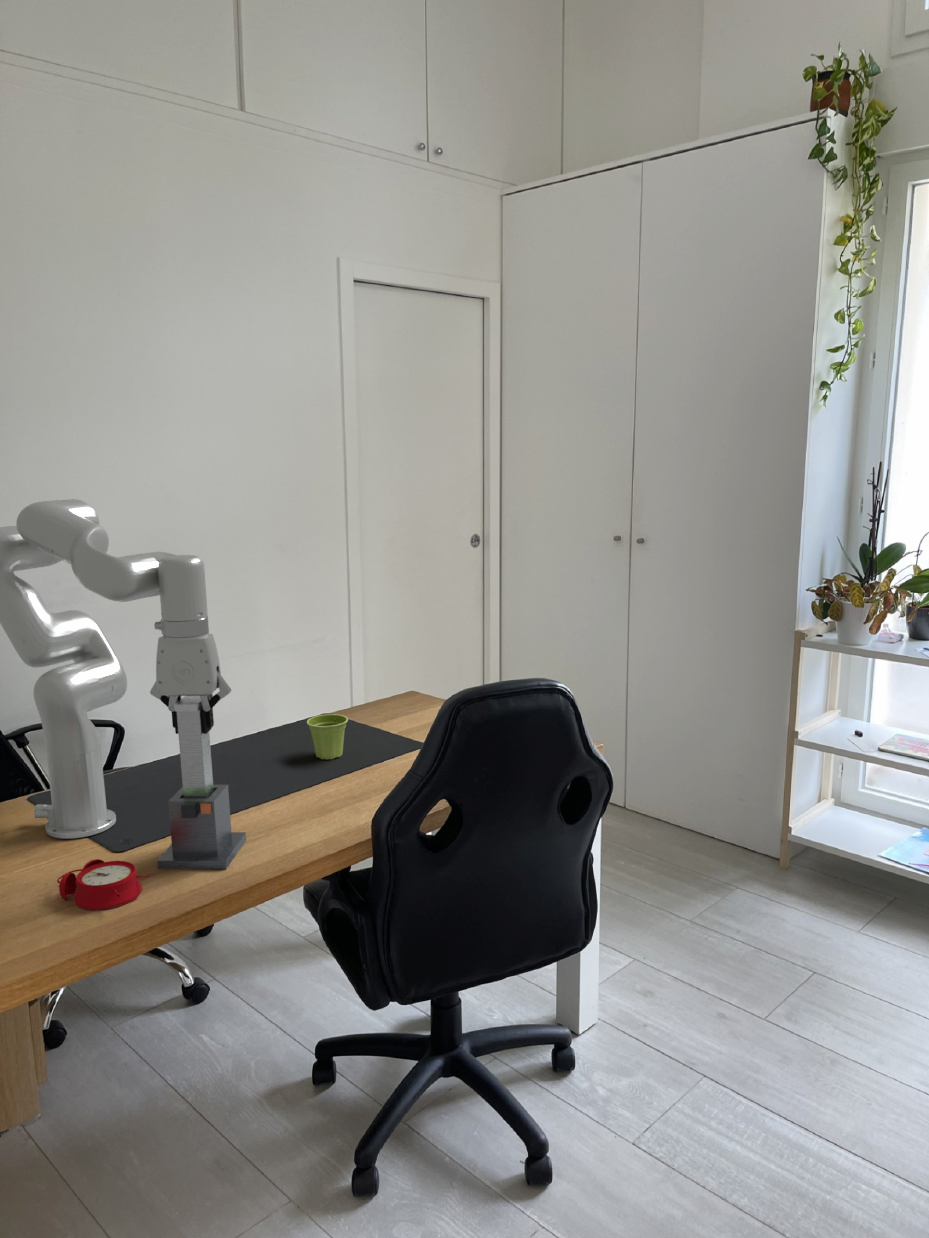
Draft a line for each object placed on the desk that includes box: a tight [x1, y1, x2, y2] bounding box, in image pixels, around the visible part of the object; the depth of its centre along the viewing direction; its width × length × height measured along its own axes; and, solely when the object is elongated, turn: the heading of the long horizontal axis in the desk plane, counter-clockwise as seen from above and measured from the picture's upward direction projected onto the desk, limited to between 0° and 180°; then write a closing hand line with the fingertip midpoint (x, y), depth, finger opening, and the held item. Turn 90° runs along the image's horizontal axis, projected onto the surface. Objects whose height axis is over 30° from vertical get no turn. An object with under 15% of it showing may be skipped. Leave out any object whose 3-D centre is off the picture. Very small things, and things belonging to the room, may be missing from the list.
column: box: [174, 696, 214, 798], centre depth 163 cm, size 4×6×21 cm
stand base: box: [156, 784, 247, 870], centre depth 165 cm, size 12×12×12 cm
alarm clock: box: [56, 858, 152, 911], centre depth 152 cm, size 10×6×15 cm
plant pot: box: [306, 713, 349, 760], centre depth 217 cm, size 9×9×9 cm
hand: (193, 730), depth 162 cm, fingers closed on column, 4 cm apart
